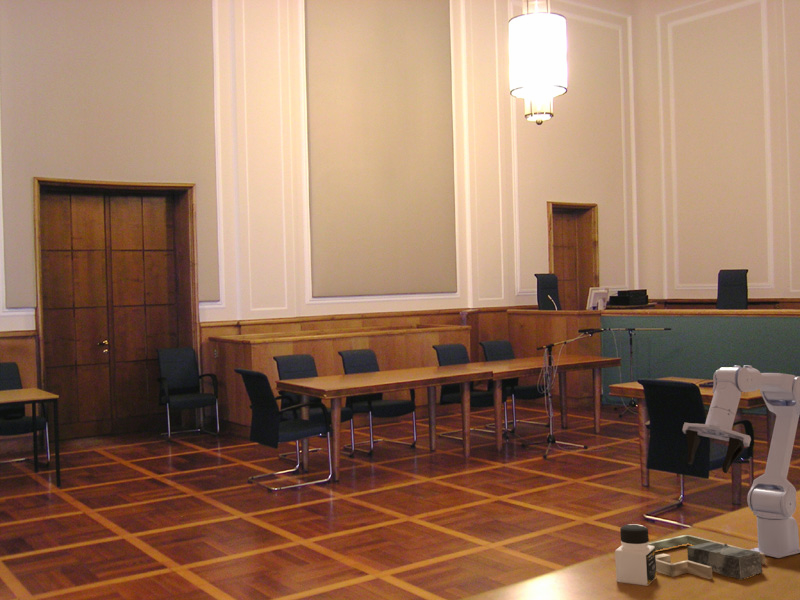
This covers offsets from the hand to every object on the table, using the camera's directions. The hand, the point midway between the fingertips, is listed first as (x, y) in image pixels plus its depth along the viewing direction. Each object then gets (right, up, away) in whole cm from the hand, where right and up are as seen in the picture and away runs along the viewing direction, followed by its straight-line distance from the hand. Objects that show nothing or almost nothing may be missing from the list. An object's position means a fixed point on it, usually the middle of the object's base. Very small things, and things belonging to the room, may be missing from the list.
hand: (706, 467), depth 184 cm
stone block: (+6, -25, +5) cm, 27 cm away
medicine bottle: (-16, -25, 0) cm, 30 cm away
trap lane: (+1, -25, +12) cm, 28 cm away
